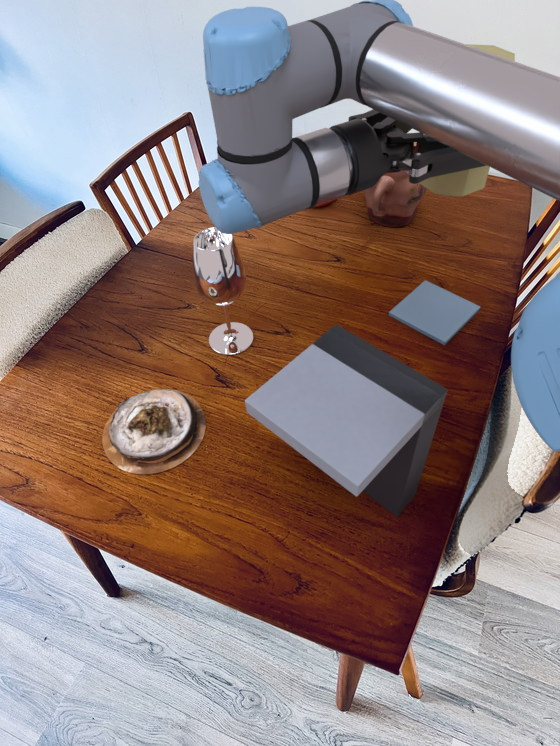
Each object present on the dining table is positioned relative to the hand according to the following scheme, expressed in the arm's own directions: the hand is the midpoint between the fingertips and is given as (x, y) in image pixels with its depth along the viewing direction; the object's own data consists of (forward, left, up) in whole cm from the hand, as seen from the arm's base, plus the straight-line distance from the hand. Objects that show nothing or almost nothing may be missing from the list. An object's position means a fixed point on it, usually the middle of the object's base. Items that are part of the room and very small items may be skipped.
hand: (493, 112), depth 64 cm
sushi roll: (+18, +49, -33) cm, 62 cm away
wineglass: (+23, +29, -33) cm, 49 cm away
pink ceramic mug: (+23, -16, -33) cm, 43 cm away
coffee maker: (-9, +39, -33) cm, 52 cm away
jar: (+2, +4, -8) cm, 9 cm away
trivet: (+1, +2, -33) cm, 33 cm away
